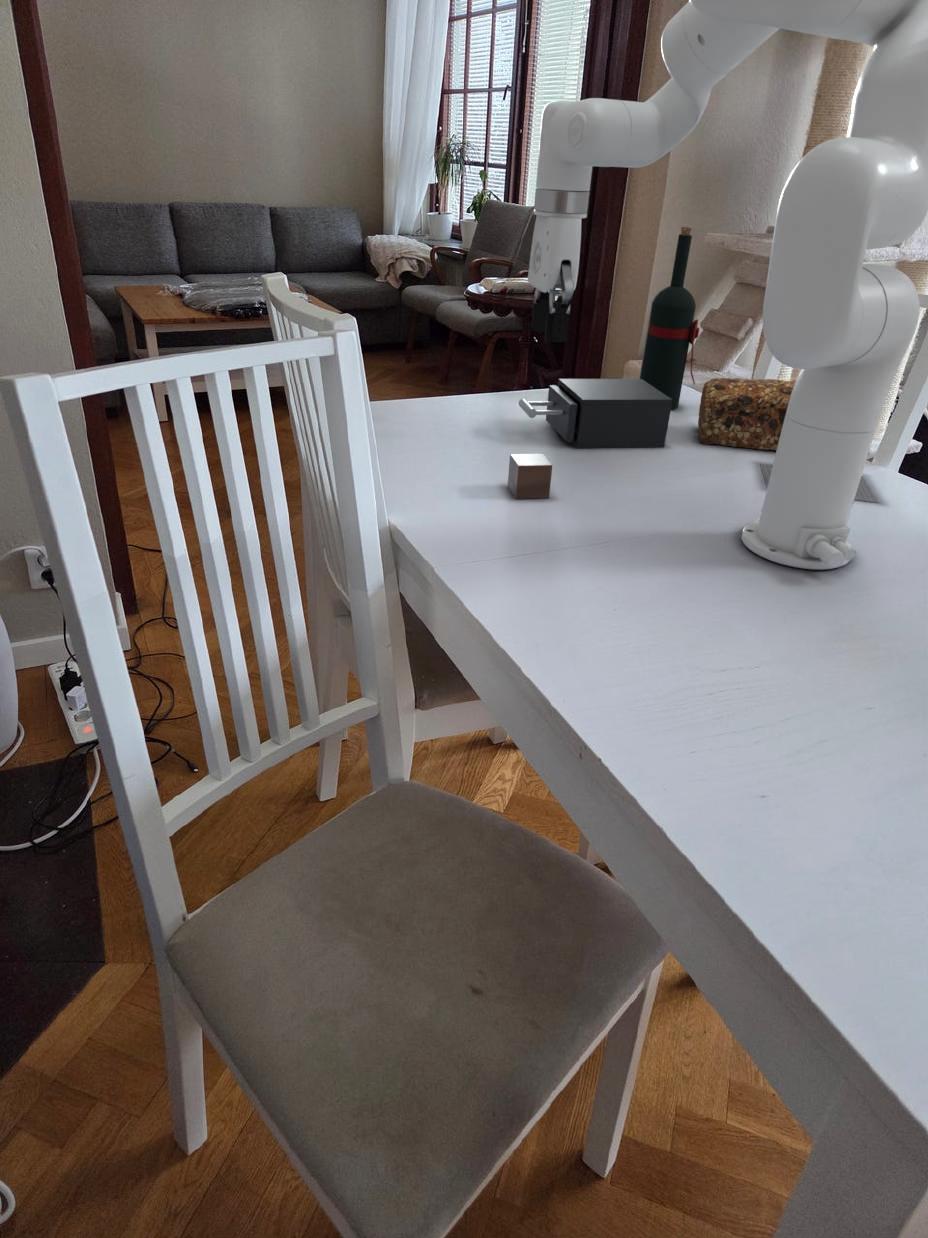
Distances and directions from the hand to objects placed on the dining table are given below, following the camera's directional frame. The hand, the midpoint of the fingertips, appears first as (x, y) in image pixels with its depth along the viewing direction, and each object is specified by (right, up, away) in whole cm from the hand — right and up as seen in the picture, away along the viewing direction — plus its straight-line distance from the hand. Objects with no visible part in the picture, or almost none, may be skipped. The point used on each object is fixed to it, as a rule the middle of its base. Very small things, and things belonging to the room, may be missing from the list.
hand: (548, 334), depth 125 cm
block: (-4, -26, -14) cm, 30 cm away
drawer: (+6, -12, +9) cm, 16 cm away
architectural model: (+39, -23, -5) cm, 45 cm away
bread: (+35, -14, +11) cm, 39 cm away
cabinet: (+11, -13, +10) cm, 20 cm away
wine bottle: (+24, -4, +28) cm, 37 cm away
